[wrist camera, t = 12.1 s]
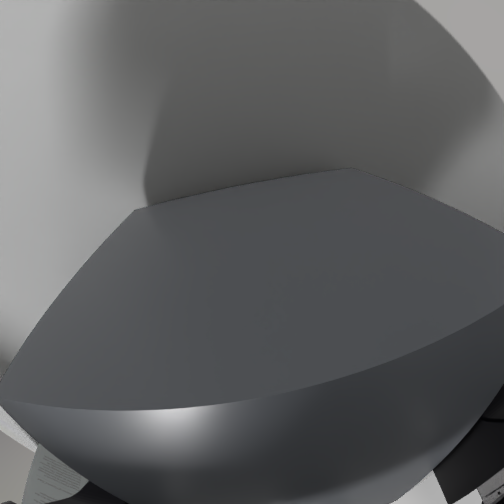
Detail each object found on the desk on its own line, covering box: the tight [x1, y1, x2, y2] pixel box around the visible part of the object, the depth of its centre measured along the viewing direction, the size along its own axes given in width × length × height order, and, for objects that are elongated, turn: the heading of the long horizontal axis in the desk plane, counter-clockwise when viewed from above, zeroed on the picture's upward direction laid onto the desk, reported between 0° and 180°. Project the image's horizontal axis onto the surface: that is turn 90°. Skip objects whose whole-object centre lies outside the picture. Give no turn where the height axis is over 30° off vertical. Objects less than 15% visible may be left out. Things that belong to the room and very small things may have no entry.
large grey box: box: [0, 168, 504, 504], centre depth 8 cm, size 8×12×8 cm, turn 10°
